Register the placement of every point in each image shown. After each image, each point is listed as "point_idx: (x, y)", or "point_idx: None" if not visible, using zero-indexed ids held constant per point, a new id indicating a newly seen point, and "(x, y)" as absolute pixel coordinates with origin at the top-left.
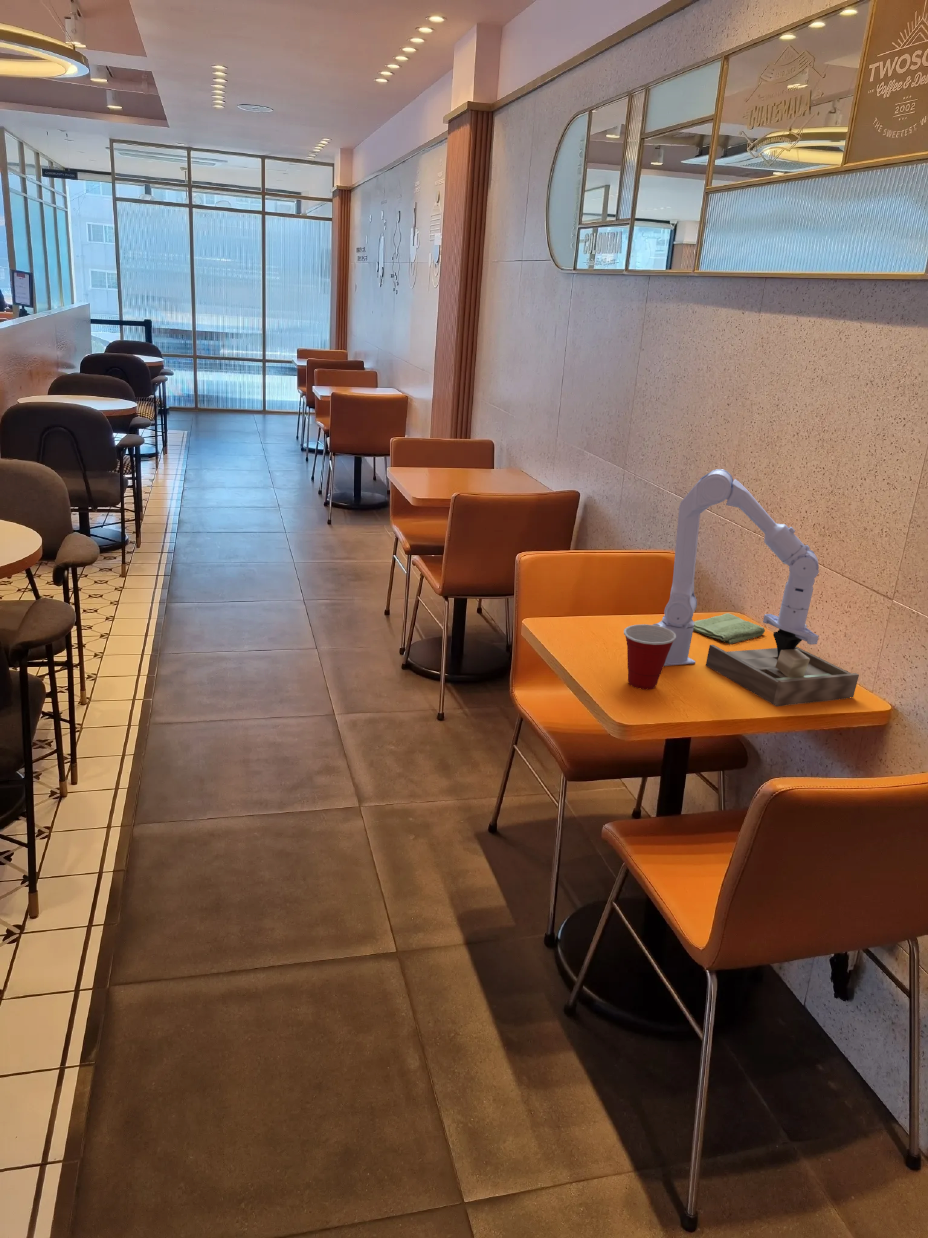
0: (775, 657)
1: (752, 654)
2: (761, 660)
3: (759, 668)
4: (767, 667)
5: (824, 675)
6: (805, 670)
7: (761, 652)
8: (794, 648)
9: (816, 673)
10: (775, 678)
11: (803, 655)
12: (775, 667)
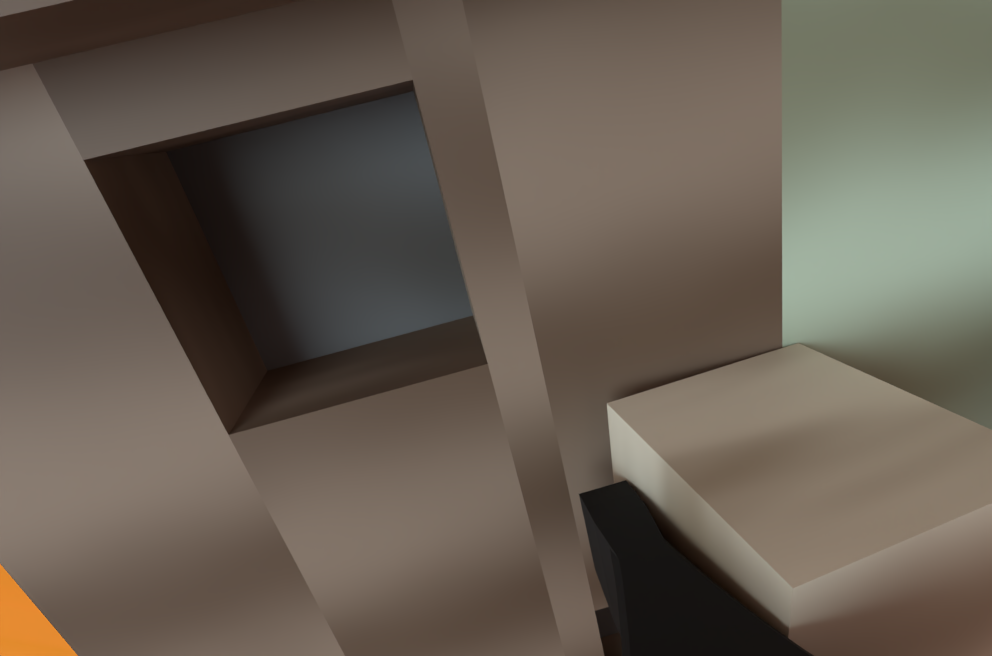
0: (205, 386)
1: (196, 612)
2: (373, 583)
3: (581, 653)
4: (557, 588)
5: (829, 33)
6: (862, 377)
7: (77, 502)
8: (794, 643)
9: (755, 119)
10: None
11: (977, 538)
12: (559, 523)
